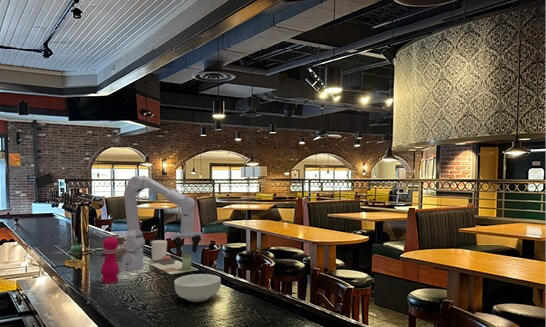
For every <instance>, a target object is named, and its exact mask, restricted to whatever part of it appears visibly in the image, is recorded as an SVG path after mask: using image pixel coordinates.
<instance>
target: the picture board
mask: <svg viewBox="0 0 546 327" xmlns="http://www.w3.org/2000/svg"><path fill="white" fill-rule="evenodd" d="M150 265H151V266H153V267H155V268H157V269H159V270H161V271H163V272H166V273H167V274H170V275H175V274H181V273H187V272H189V273H190V272H193V271H194V272H195V271H199V269H198V268H196V267H193V266H191V270H182V261H180V260H177V259H176V260H175V259H174V258H172V257H170V260H165V261H164V260H163V259H159V260H158V262H154V263H150Z"/></svg>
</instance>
